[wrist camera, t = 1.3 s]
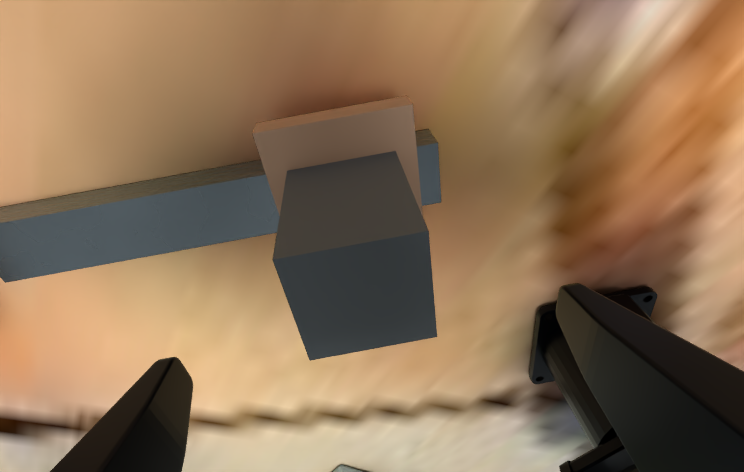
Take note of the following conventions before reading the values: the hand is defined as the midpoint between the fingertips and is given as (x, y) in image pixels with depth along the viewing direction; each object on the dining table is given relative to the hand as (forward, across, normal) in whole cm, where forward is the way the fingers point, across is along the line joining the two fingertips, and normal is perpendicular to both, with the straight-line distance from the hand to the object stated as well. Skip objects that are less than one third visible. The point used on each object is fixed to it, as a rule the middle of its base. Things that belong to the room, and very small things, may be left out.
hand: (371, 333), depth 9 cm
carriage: (+9, 0, 0) cm, 9 cm away
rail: (+9, +5, 0) cm, 10 cm away
